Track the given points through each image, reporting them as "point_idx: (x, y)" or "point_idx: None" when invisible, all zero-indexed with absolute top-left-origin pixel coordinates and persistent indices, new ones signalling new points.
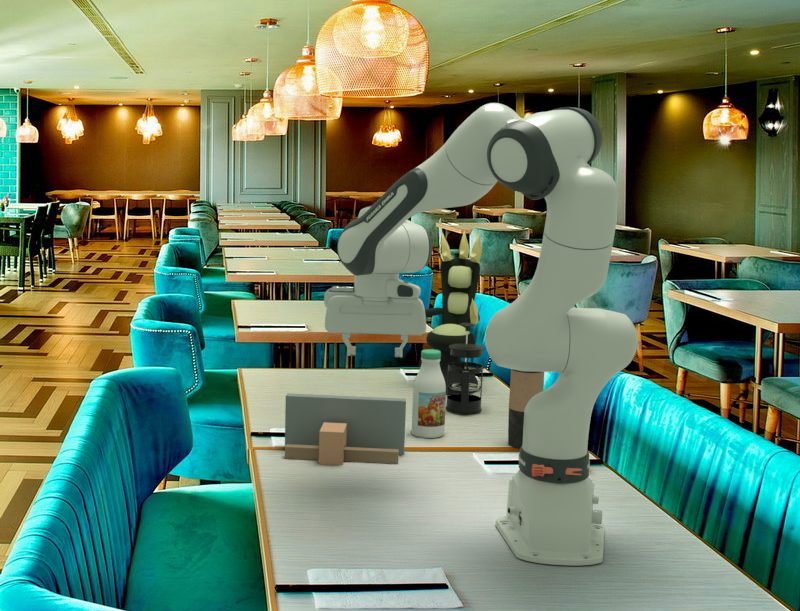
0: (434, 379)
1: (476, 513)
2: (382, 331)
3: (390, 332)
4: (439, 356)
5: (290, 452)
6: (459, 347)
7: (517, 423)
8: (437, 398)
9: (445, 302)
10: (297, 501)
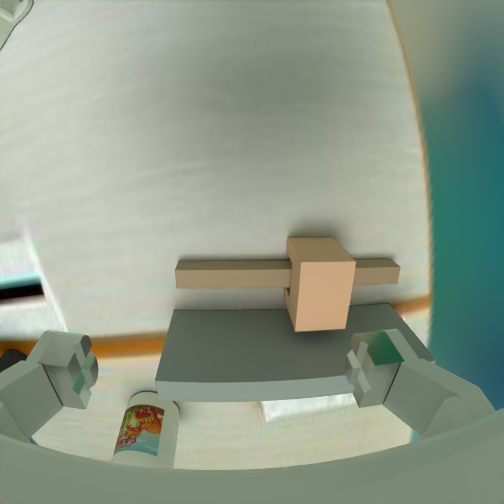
0: None
1: (46, 38)
2: (121, 483)
3: (38, 456)
4: None
5: (386, 263)
6: None
7: None
8: (123, 443)
9: None
10: (349, 35)
